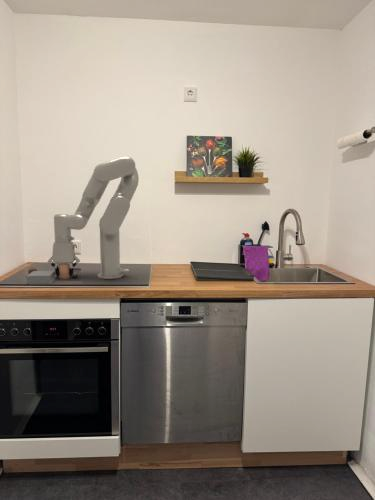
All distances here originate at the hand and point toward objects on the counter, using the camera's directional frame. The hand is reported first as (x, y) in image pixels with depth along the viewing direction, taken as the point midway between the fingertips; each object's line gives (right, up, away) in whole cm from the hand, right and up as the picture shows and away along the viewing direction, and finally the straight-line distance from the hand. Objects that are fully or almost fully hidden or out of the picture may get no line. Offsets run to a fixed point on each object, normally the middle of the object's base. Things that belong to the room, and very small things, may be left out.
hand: (64, 275), depth 173 cm
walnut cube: (-16, -1, +2) cm, 17 cm away
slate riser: (-8, -2, -8) cm, 11 cm away
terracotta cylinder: (0, -1, 0) cm, 1 cm away
